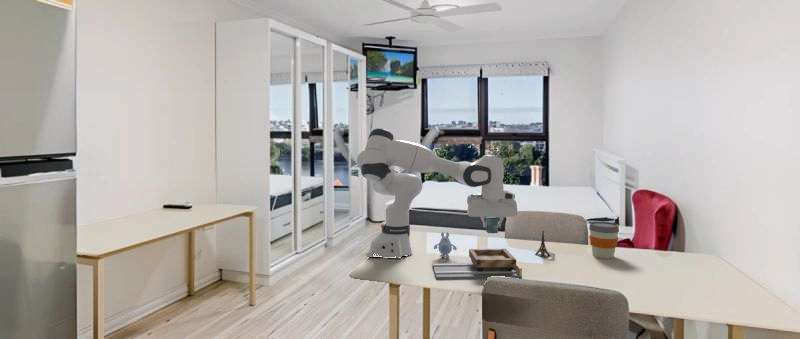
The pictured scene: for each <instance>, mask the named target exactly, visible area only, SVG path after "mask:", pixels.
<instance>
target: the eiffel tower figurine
mask: <svg viewBox="0 0 800 339" xmlns="http://www.w3.org/2000/svg"><path fill="white" fill-rule="evenodd" d="M541 233H542V235H541V243H540V246H539V248H538V250H536V249H535V250H533V251H534V252H535V253H534V255H535V256H537V257H540V258H548V257H549V259H548V261H551V262H554V261H555V259H556V253H554V252H551V251H548V249H547V247H546V243H545V236H544V235H545V231H544V230H542V232H541Z"/></svg>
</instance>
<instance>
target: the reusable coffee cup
mask: <svg viewBox="0 0 800 339" xmlns="http://www.w3.org/2000/svg"><path fill="white" fill-rule="evenodd" d="M588 229H589V233H590V234H589V242H590V243H589V244H590V246H591V251H592V252H591V253H592V256H593V257H594V258H598V257H599V258H598V259H604V258H610V259H613V258H614V257H615V252H616V248H617V246H618V240H619V237H618V234H619V232H620V227H619V224H617V223H615V222H609V221H591V222H590V223H589V227H588Z"/></svg>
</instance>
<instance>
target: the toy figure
mask: <svg viewBox="0 0 800 339" xmlns="http://www.w3.org/2000/svg"><path fill="white" fill-rule="evenodd" d="M440 235H441V238H440V240H439V242H438V243H436V244H435V245H434V246H433V249H434V250H436V249H438V251H439V253H440V254H441V255H440V258H441V257H446V258H445V259H450V256H449V254H450V253H451V252H452V250H454V251H457V249H458V248H457V246H456V245H454V244H452V242H451V240H450V238H449V237H450V233H449V232H448V231H447V232H446V236H445V233H444V232H441V233H440Z"/></svg>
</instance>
